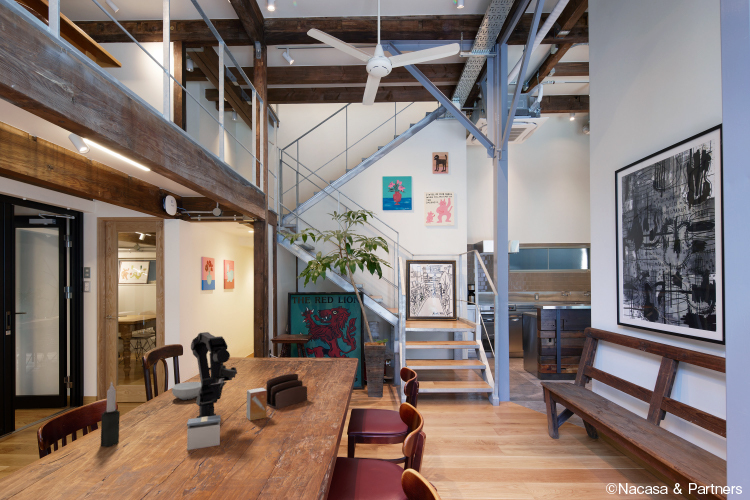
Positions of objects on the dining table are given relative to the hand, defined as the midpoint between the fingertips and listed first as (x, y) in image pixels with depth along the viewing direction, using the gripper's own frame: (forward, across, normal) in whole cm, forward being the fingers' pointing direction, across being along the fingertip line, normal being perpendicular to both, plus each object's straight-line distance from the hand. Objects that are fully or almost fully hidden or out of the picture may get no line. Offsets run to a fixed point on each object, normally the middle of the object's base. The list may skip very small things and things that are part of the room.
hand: (218, 399), depth 179 cm
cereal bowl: (0, +44, +38) cm, 58 cm away
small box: (+12, +14, -11) cm, 22 cm away
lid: (+7, -17, -1) cm, 18 cm away
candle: (+10, -17, +39) cm, 43 cm away
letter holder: (+10, +36, -21) cm, 43 cm away
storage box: (+15, -15, 0) cm, 22 cm away
